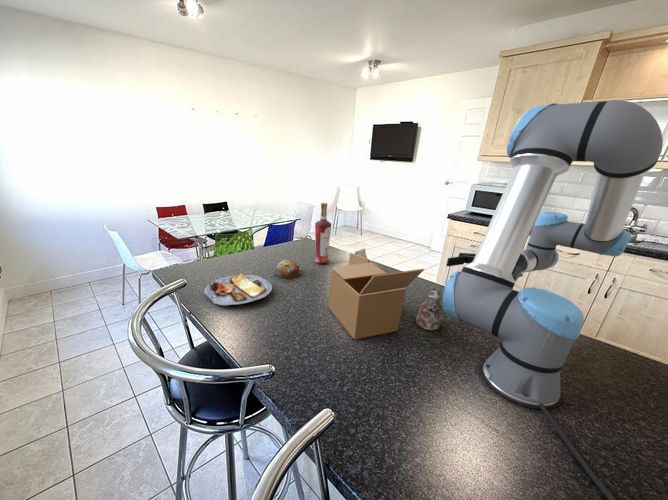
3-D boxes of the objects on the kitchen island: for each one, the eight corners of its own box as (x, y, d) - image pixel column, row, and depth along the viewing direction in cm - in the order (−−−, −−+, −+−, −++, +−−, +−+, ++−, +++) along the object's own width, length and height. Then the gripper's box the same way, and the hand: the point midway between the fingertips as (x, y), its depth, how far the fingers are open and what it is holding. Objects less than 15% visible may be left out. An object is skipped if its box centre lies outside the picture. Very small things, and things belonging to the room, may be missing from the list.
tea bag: (350, 271, 131) (352, 250, 126) (359, 267, 135) (361, 247, 131) (357, 274, 128) (359, 252, 124) (365, 270, 133) (368, 249, 128)
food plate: (196, 288, 113) (195, 280, 112) (250, 274, 126) (250, 266, 125) (222, 317, 95) (221, 307, 94) (282, 297, 108) (282, 288, 107)
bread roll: (276, 277, 132) (269, 264, 127) (295, 265, 133) (288, 251, 129) (285, 287, 123) (277, 272, 119) (305, 274, 125) (298, 259, 121)
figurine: (416, 328, 92) (424, 294, 87) (414, 316, 98) (421, 283, 93) (441, 331, 90) (450, 297, 85) (437, 319, 96) (445, 286, 92)
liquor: (321, 258, 145) (324, 201, 133) (332, 263, 140) (336, 203, 128) (310, 261, 140) (312, 202, 129) (321, 266, 135) (324, 205, 124)
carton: (397, 330, 90) (406, 286, 84) (354, 339, 86) (359, 293, 79) (366, 301, 106) (371, 262, 100) (328, 307, 102) (331, 267, 96)
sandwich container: (387, 284, 119) (393, 250, 113) (363, 296, 110) (368, 259, 104) (370, 278, 125) (374, 244, 119) (346, 288, 116) (349, 252, 110)
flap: (405, 286, 84) (406, 287, 84) (359, 293, 79) (360, 294, 79) (423, 268, 76) (424, 269, 76) (373, 275, 72) (374, 276, 71)
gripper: (550, 289, 87) (497, 300, 81) (480, 259, 108) (433, 266, 102) (560, 266, 84) (505, 275, 78) (485, 240, 105) (437, 245, 99)
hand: (464, 270), depth 90 cm, fingers open, 13 cm apart
